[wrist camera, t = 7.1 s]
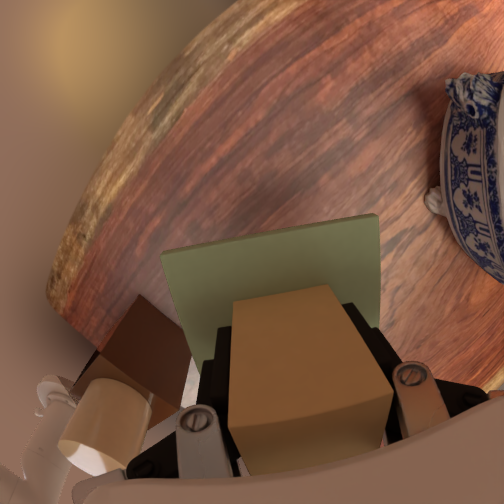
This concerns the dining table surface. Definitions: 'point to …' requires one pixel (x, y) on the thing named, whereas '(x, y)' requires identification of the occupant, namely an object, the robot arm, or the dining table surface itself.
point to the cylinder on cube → (126, 389)
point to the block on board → (272, 272)
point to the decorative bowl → (474, 169)
